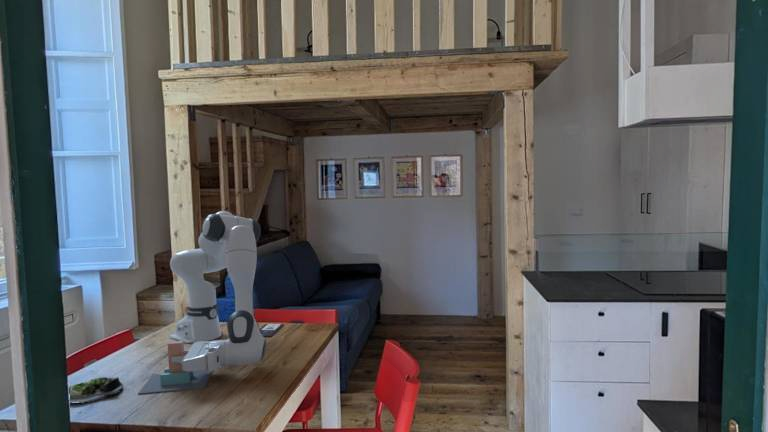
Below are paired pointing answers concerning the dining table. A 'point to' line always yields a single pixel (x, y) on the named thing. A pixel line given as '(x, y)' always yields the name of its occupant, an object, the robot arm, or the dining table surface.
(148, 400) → the dining table surface
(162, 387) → the mat
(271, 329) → the chocolate bar
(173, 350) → the salmon orange block
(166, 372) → the slotted rack
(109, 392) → the salad plate
